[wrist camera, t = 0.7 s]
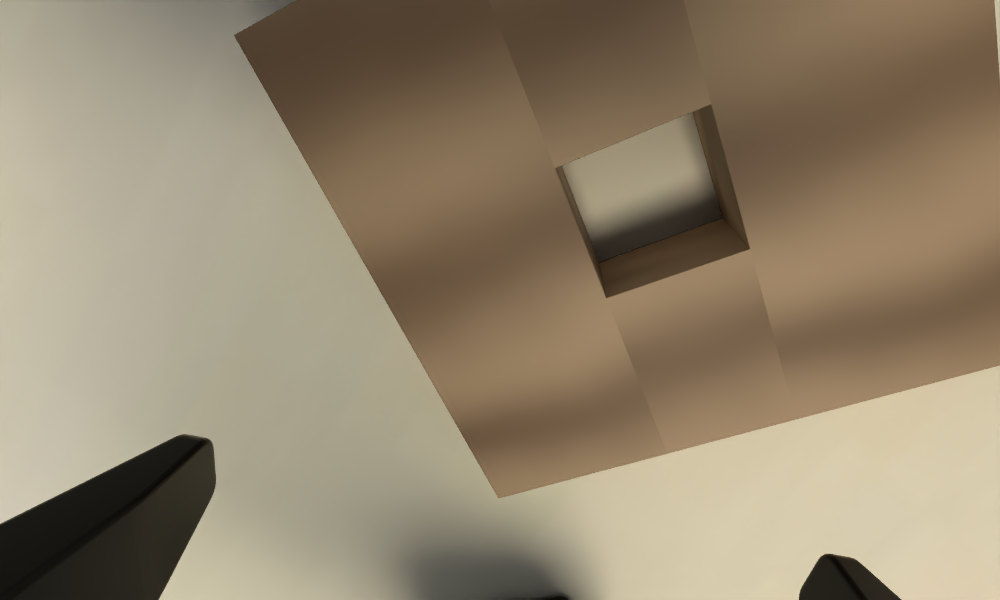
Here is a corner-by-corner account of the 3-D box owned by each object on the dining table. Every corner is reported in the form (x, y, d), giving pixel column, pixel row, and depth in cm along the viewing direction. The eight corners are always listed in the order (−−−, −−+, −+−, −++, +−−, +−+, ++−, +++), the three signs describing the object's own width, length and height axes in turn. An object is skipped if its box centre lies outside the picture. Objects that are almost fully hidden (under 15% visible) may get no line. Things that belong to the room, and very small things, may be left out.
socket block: (957, 315, 20) (1018, 360, 18) (504, 446, 25) (498, 498, 22) (886, -296, 14) (968, -373, 11) (281, 33, 18) (233, 35, 15)
